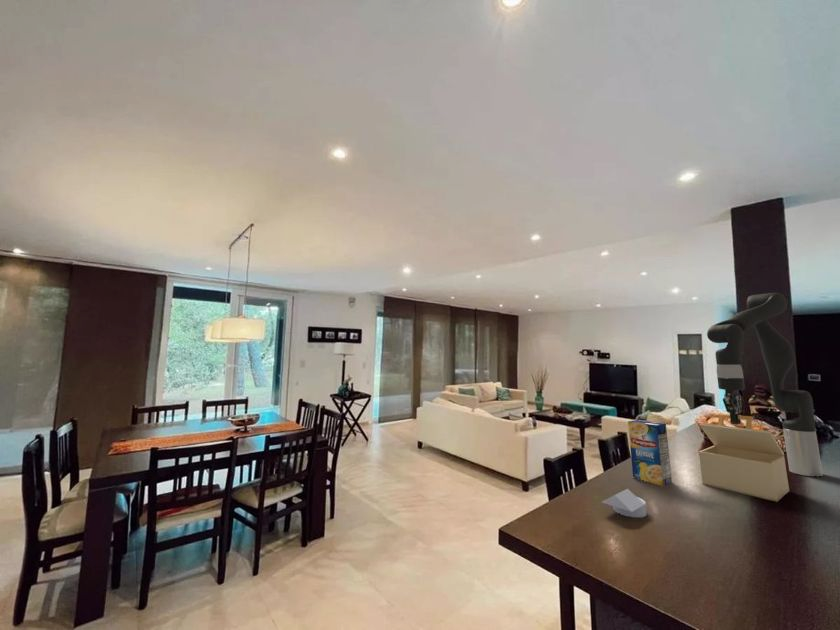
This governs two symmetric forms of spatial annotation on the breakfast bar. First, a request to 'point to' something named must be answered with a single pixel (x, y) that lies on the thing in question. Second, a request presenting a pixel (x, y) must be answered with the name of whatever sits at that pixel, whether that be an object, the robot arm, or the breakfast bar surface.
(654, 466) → the blue cardboard box
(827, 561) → the breakfast bar surface
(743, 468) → the carton
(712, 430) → the lid flap
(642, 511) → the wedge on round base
